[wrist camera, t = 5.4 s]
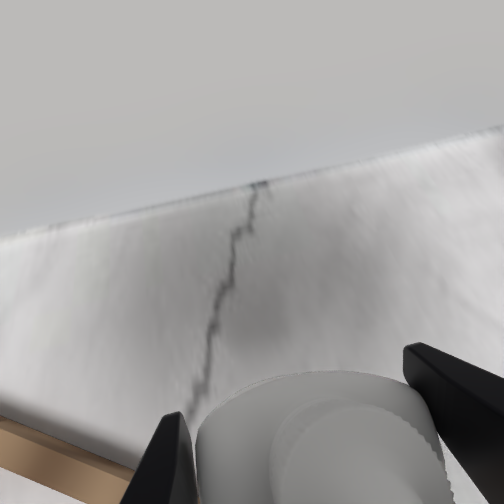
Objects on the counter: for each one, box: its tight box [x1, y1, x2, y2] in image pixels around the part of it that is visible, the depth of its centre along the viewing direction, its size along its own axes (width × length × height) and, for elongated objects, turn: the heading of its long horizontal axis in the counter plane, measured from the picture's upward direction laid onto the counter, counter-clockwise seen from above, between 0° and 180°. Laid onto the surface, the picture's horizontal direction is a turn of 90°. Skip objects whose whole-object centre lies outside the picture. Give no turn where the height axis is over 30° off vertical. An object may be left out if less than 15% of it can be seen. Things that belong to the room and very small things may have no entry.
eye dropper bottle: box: [195, 371, 455, 504], centre depth 9 cm, size 4×6×12 cm
